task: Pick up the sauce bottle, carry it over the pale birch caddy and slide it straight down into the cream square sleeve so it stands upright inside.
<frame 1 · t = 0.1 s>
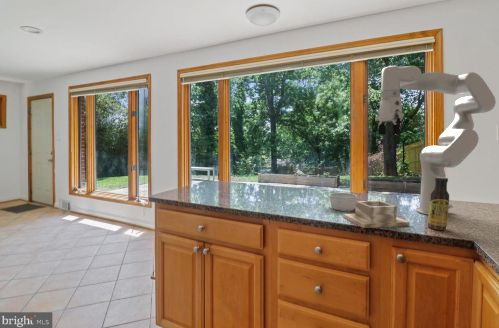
hand: (388, 134, 128), 37 cm above the worktop, tool pointing down, fingers open, 9 cm apart
bottle caddy: (374, 221, 120), on the worktop
sauce bottle: (437, 229, 110), on the worktop
ramekin: (342, 209, 143), on the worktop
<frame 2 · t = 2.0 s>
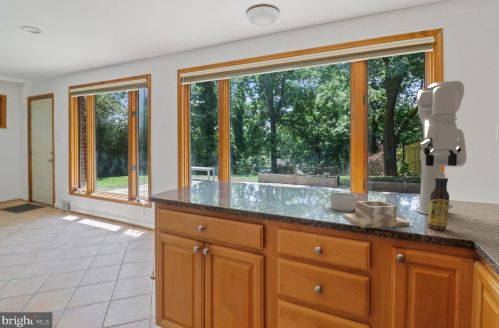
hand: (440, 165, 108), 24 cm above the worktop, tool pointing down, fingers open, 9 cm apart
nothing on the worktop moved.
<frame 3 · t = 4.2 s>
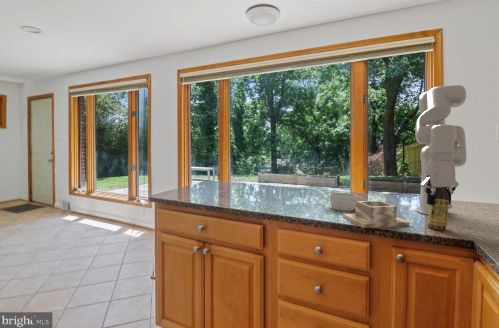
hand: (438, 203, 109), 10 cm above the worktop, tool pointing down, fingers closed on sauce bottle, 6 cm apart
sauce bottle: (437, 228, 110), on the worktop, touching gripper
everything else where it was.
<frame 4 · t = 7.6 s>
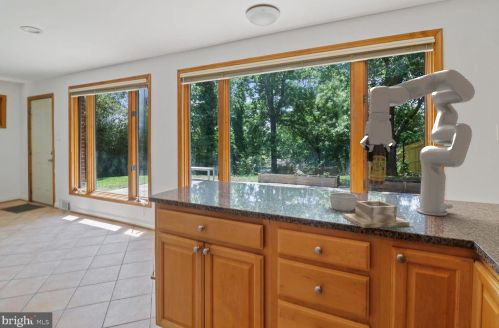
hand: (377, 161, 118), 25 cm above the worktop, tool pointing down, fingers closed on sauce bottle, 6 cm apart
sauce bottle: (376, 184, 119), point 16 cm above the worktop, touching gripper
everything else where it was.
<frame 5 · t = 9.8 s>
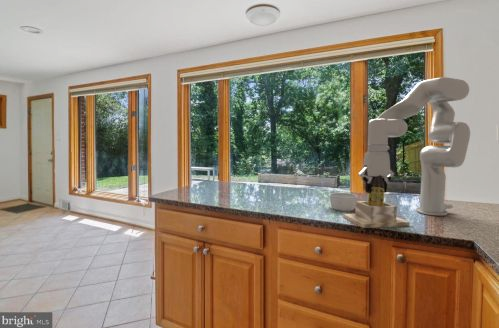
hand: (375, 191, 119), 13 cm above the worktop, tool pointing down, fingers closed on sauce bottle, 6 cm apart
sauce bottle: (375, 214, 120), point 3 cm above the worktop, touching gripper
everything else where it was.
when the fingers open (11 cm above the worktop, at t = 11.3 s): sauce bottle stays where it is, resting on bottle caddy.
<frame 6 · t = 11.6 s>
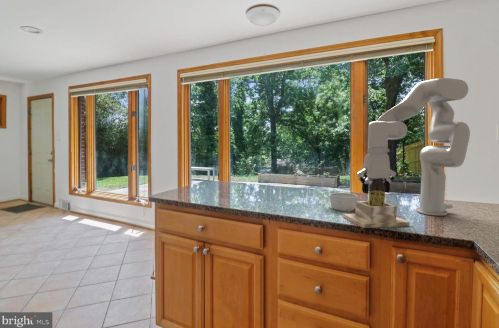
hand: (375, 192, 119), 12 cm above the worktop, tool pointing down, fingers open, 9 cm apart
sauce bottle: (375, 218, 120), point 1 cm above the worktop, touching bottle caddy
everything else where it was.
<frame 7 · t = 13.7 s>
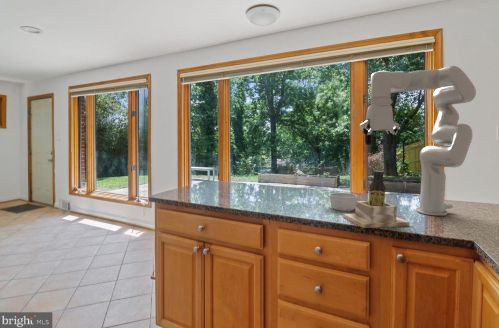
hand: (379, 144, 118), 32 cm above the worktop, tool pointing down, fingers open, 9 cm apart
nothing on the worktop moved.
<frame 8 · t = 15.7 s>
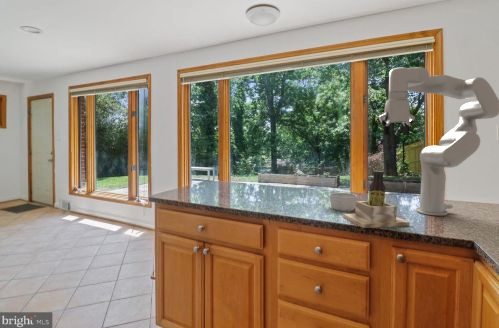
hand: (396, 135, 128), 36 cm above the worktop, tool pointing down, fingers open, 9 cm apart
nothing on the worktop moved.
at the end: sauce bottle 0.3 cm off-centre on the bottle caddy, point 1.3 cm above the bottle caddy's base; sauce bottle tilted 0°; the gripper is holding nothing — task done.
